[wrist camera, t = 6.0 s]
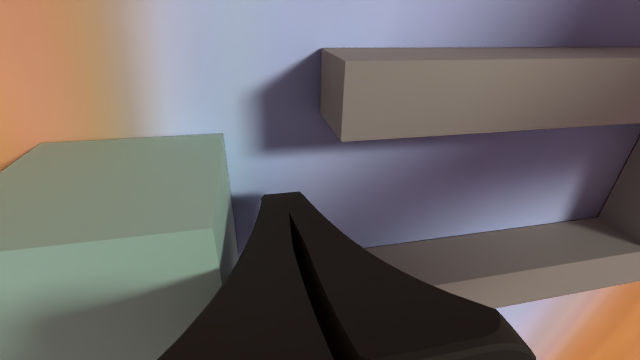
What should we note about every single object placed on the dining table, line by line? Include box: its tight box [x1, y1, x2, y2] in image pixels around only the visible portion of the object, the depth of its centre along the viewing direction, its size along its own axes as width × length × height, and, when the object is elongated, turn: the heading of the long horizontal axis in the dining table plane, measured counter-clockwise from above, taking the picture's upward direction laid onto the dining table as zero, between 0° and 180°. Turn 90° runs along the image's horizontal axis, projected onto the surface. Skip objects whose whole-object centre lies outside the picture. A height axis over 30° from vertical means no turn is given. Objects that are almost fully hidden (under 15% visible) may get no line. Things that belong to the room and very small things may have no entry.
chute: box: [320, 47, 640, 308], centre depth 13 cm, size 16×10×2 cm, turn 89°
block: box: [0, 133, 238, 360], centre depth 9 cm, size 5×5×5 cm
